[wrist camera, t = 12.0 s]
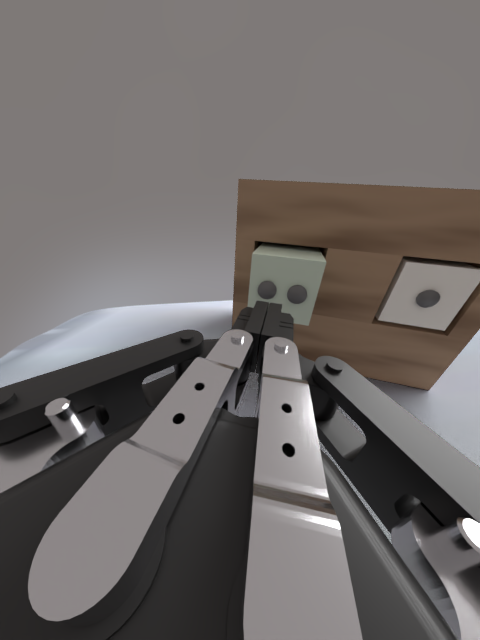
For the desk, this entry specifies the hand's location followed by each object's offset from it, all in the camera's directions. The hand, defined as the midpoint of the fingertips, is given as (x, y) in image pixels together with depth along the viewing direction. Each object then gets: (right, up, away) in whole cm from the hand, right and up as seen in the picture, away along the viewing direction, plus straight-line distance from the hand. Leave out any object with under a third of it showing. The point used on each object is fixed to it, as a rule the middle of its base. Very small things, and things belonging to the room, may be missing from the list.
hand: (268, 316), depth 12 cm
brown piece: (+8, -3, +13) cm, 16 cm away
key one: (+13, +1, +7) cm, 15 cm away
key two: (+2, +1, +6) cm, 7 cm away
